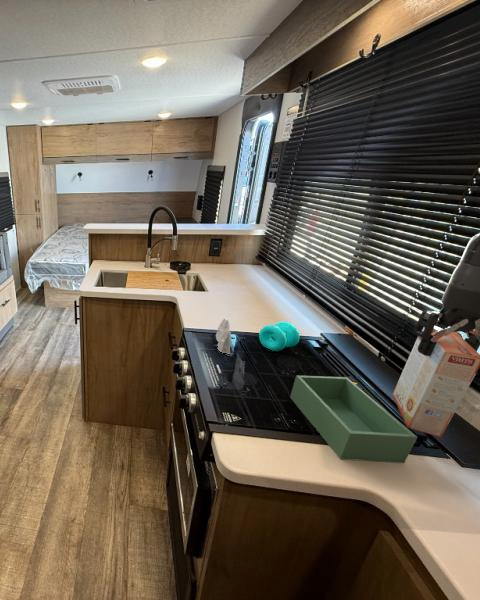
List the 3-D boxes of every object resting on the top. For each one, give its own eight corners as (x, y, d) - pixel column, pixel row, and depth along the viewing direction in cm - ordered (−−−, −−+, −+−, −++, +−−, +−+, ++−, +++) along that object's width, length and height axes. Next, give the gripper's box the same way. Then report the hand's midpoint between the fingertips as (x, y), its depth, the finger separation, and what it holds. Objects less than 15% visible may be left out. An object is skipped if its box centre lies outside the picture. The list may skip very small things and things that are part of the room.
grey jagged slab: (214, 338, 124) (218, 314, 120) (225, 340, 123) (230, 315, 118) (217, 354, 113) (222, 327, 109) (230, 355, 112) (235, 328, 108)
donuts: (297, 351, 114) (304, 327, 111) (279, 357, 111) (285, 332, 107) (273, 339, 123) (278, 316, 119) (255, 344, 119) (260, 321, 116)
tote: (339, 399, 89) (347, 377, 87) (404, 463, 69) (417, 437, 67) (289, 397, 91) (296, 375, 88) (340, 459, 71) (350, 433, 68)
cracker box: (443, 439, 68) (487, 358, 60) (405, 428, 71) (442, 350, 63) (423, 402, 79) (457, 329, 71) (391, 394, 82) (421, 324, 74)
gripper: (457, 291, 60) (424, 363, 66) (541, 292, 58) (500, 365, 64) (421, 280, 66) (394, 345, 72) (495, 280, 65) (462, 346, 71)
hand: (444, 354), depth 68 cm, fingers closed on cracker box, 8 cm apart
